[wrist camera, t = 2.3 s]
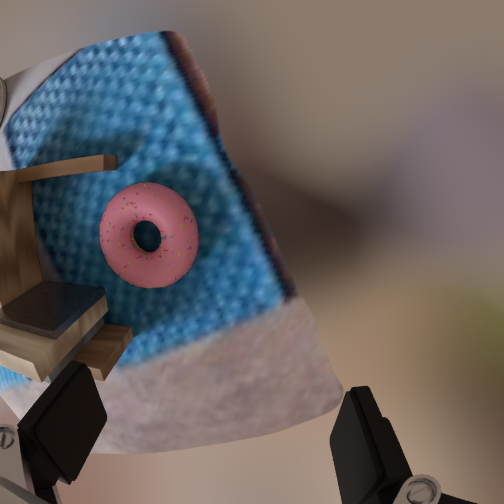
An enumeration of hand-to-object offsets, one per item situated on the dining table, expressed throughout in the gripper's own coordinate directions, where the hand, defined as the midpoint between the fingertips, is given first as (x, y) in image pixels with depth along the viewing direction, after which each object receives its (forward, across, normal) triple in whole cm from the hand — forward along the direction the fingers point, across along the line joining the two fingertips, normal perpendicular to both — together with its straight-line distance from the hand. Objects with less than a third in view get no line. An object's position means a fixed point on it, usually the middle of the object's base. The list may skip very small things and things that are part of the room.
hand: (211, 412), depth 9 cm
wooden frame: (+21, +22, +1) cm, 30 cm away
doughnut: (+22, +10, -2) cm, 24 cm away
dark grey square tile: (+21, +22, +6) cm, 31 cm away
